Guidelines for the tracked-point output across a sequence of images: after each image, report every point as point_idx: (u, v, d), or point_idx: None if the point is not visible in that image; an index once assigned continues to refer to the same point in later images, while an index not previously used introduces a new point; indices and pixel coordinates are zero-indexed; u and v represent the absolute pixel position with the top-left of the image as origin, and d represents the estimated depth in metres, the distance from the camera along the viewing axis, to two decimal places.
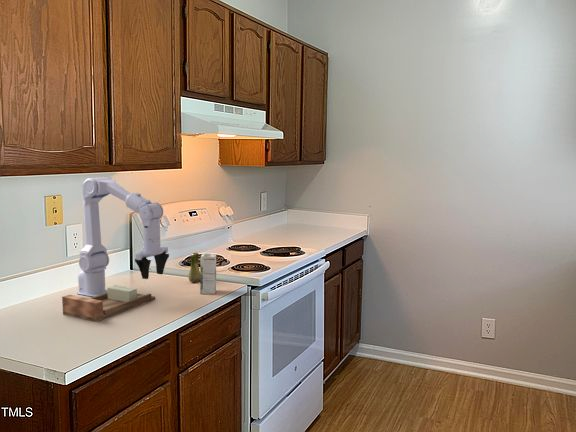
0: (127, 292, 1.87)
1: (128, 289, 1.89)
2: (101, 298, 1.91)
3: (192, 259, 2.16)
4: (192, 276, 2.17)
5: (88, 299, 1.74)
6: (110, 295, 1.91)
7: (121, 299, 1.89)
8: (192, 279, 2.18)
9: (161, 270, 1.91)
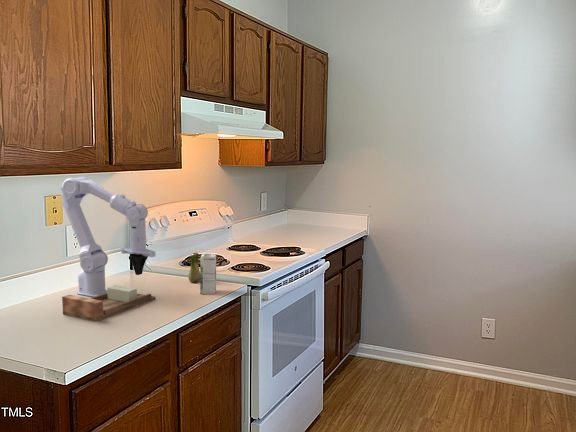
0: (127, 292, 1.87)
1: (128, 289, 1.89)
2: (101, 298, 1.91)
3: (192, 259, 2.16)
4: (192, 276, 2.17)
5: (88, 299, 1.74)
6: (110, 295, 1.91)
7: (121, 299, 1.89)
8: (192, 279, 2.18)
9: None
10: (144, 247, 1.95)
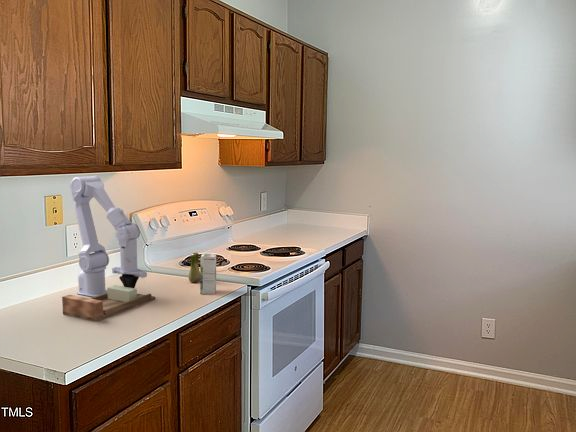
0: (127, 292, 1.87)
1: (128, 289, 1.89)
2: (101, 298, 1.91)
3: (192, 259, 2.16)
4: (192, 276, 2.17)
5: (88, 299, 1.74)
6: (110, 295, 1.91)
7: (121, 299, 1.89)
8: (192, 279, 2.18)
9: None
10: (135, 267, 1.92)
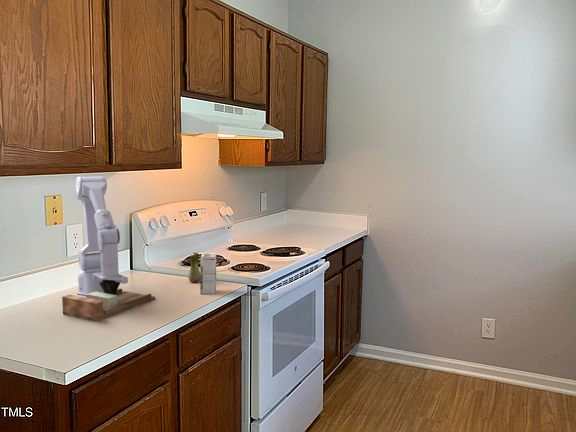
0: (107, 299, 1.79)
1: (108, 296, 1.81)
2: None
3: (192, 259, 2.16)
4: (192, 276, 2.17)
5: (88, 299, 1.74)
6: None
7: None
8: (192, 279, 2.18)
9: None
10: (116, 273, 1.84)
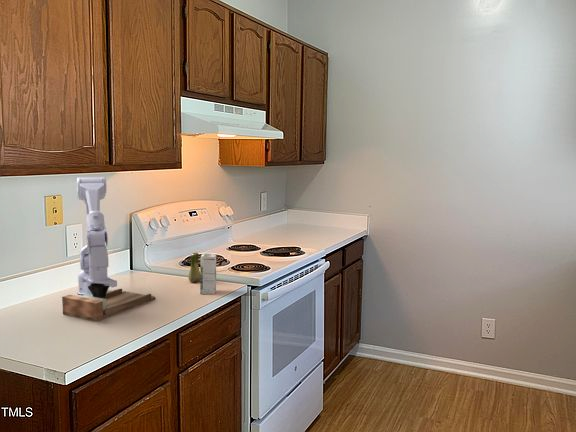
0: None
1: (97, 299, 1.77)
2: None
3: (192, 259, 2.17)
4: (192, 276, 2.17)
5: (88, 299, 1.74)
6: None
7: None
8: (192, 279, 2.18)
9: None
10: (105, 276, 1.79)
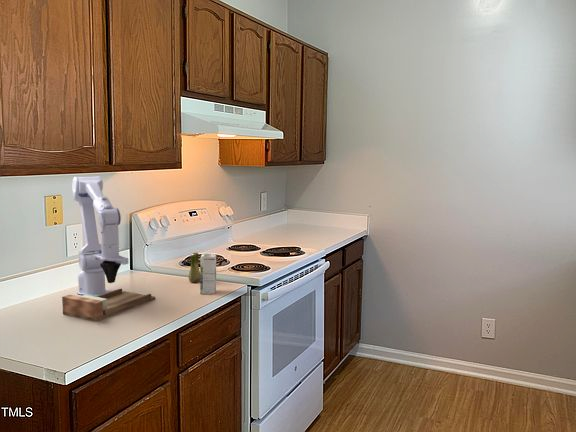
0: None
1: (98, 299, 1.77)
2: None
3: (192, 259, 2.17)
4: (192, 276, 2.17)
5: (88, 299, 1.74)
6: None
7: None
8: (192, 279, 2.18)
9: None
10: (117, 254, 1.84)
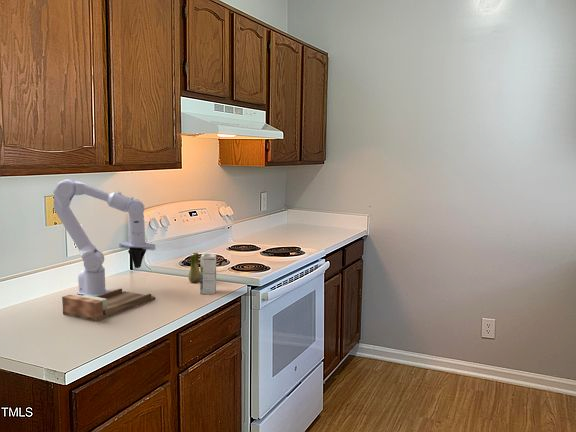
0: None
1: (98, 299, 1.77)
2: None
3: (192, 259, 2.16)
4: (192, 276, 2.17)
5: (88, 299, 1.74)
6: None
7: None
8: (192, 279, 2.18)
9: None
10: (143, 241, 2.02)
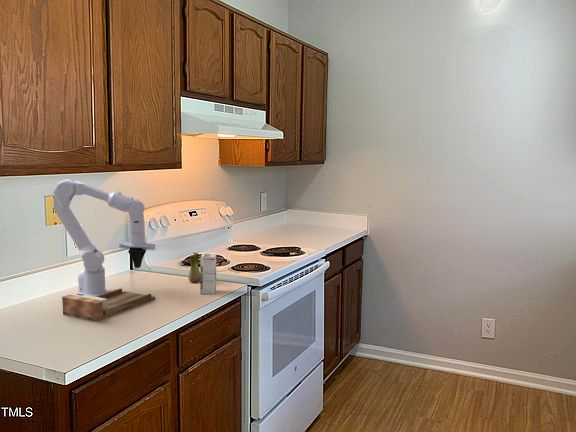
0: None
1: (98, 299, 1.77)
2: None
3: (192, 259, 2.17)
4: (192, 276, 2.17)
5: (88, 299, 1.74)
6: None
7: None
8: (192, 279, 2.18)
9: None
10: (143, 241, 2.02)
